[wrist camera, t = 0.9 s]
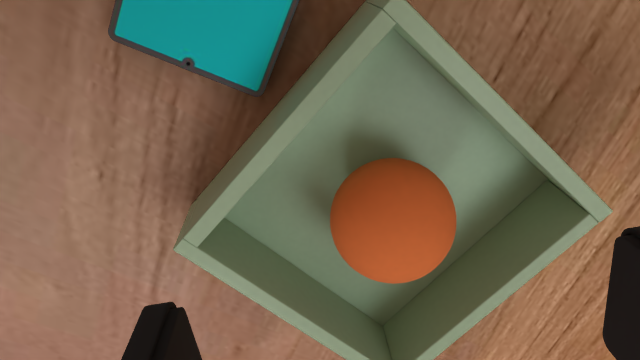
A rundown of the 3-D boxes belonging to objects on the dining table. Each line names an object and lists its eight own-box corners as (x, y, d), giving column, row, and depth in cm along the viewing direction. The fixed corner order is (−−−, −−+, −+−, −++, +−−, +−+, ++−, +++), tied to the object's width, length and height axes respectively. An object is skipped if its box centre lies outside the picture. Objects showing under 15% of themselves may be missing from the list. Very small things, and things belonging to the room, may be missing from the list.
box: (377, -13, 21) (397, -9, 17) (563, 174, 26) (613, 211, 22) (190, 205, 25) (172, 250, 21) (381, 334, 30) (395, 391, 26)
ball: (379, 117, 24) (407, 162, 18) (458, 186, 26) (504, 245, 20) (302, 199, 25) (306, 263, 20) (381, 258, 27) (405, 331, 22)
